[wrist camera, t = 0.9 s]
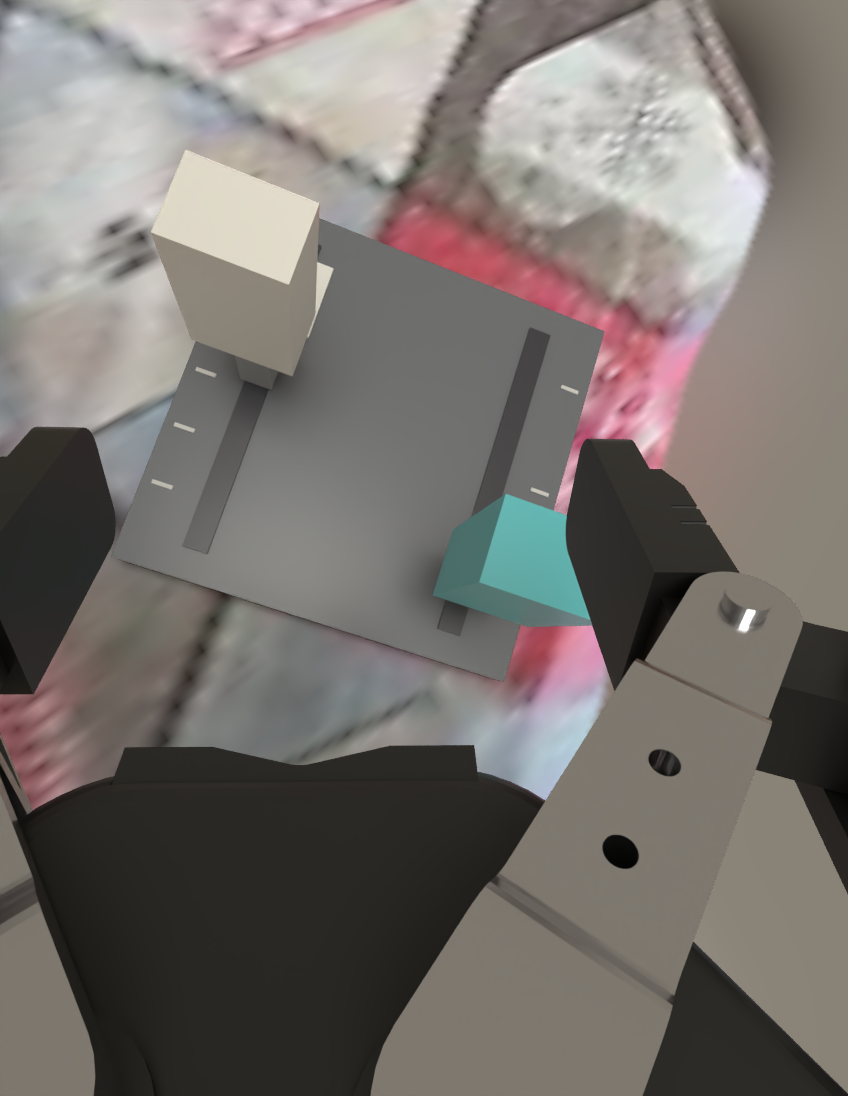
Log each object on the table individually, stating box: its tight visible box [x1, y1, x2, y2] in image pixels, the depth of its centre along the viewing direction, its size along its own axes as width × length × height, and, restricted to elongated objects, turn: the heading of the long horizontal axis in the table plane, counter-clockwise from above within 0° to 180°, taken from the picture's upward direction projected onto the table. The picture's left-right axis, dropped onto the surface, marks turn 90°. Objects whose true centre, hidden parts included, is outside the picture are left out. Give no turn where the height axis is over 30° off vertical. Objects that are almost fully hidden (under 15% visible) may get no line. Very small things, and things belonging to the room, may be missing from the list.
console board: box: [111, 218, 605, 682], centre depth 36 cm, size 20×20×2 cm
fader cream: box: [151, 150, 320, 390], centre depth 28 cm, size 3×4×13 cm
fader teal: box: [433, 494, 592, 627], centre depth 29 cm, size 3×4×13 cm
